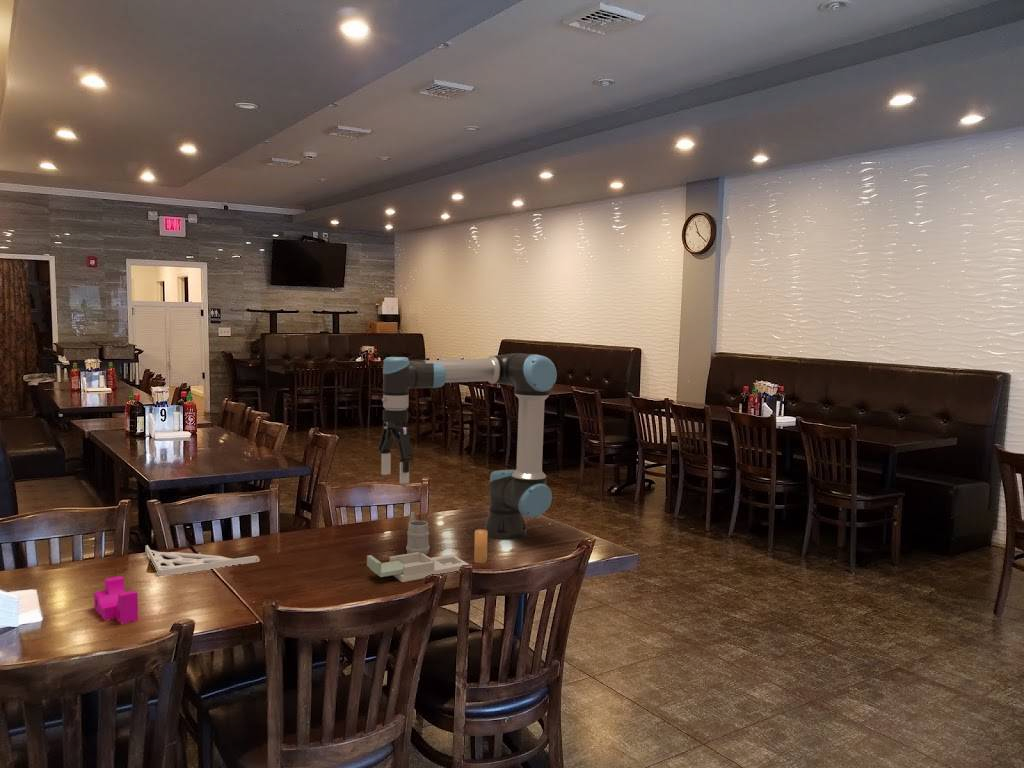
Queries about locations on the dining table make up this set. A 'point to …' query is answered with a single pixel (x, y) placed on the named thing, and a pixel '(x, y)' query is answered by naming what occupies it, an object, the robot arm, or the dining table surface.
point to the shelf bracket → (192, 562)
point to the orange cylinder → (480, 546)
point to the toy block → (116, 601)
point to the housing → (425, 565)
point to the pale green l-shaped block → (384, 567)
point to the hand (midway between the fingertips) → (394, 478)
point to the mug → (417, 536)
